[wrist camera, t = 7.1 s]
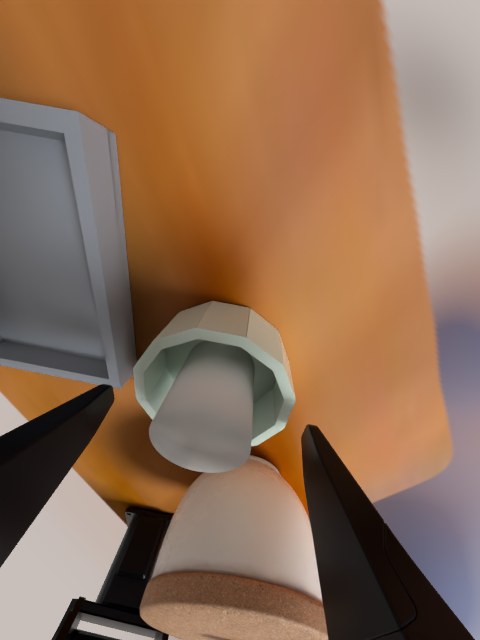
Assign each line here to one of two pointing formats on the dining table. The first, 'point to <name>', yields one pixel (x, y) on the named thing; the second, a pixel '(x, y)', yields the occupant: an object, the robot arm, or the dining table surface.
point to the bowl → (225, 328)
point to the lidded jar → (237, 562)
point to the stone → (208, 410)
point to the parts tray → (62, 248)
